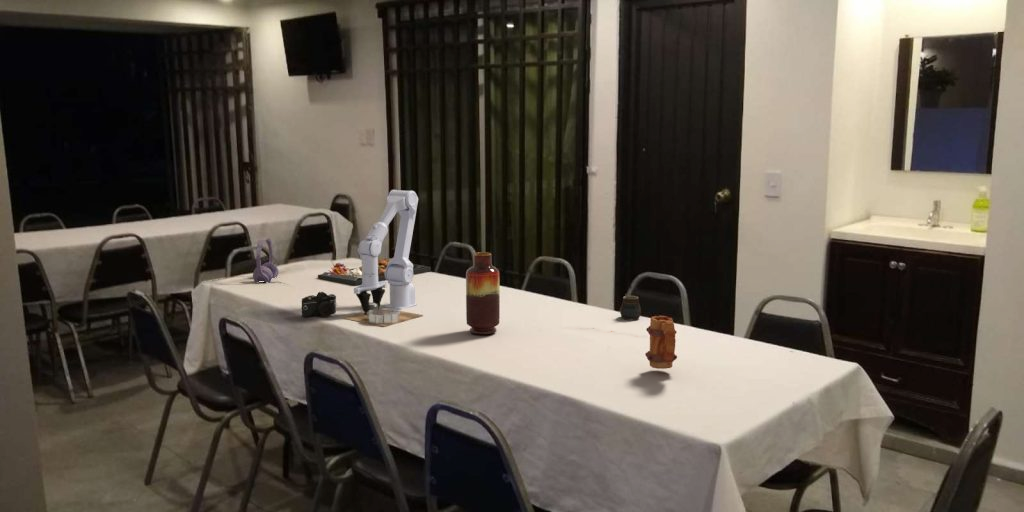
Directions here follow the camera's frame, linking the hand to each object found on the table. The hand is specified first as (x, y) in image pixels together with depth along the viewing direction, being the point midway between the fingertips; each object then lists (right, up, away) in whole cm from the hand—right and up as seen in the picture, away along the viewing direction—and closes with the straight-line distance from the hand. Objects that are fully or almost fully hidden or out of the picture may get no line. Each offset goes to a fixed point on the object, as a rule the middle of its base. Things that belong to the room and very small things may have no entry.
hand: (371, 310), depth 298 cm
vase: (+41, -6, -24) cm, 48 cm away
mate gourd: (+93, -3, -8) cm, 93 cm away
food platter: (-10, +8, +69) cm, 70 cm away
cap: (0, -1, 0) cm, 1 cm away
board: (+5, -2, -5) cm, 7 cm away
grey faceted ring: (+6, -3, -10) cm, 12 cm away
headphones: (-56, +8, +60) cm, 83 cm away
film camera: (-19, -3, -3) cm, 20 cm away
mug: (+93, -12, -68) cm, 116 cm away
